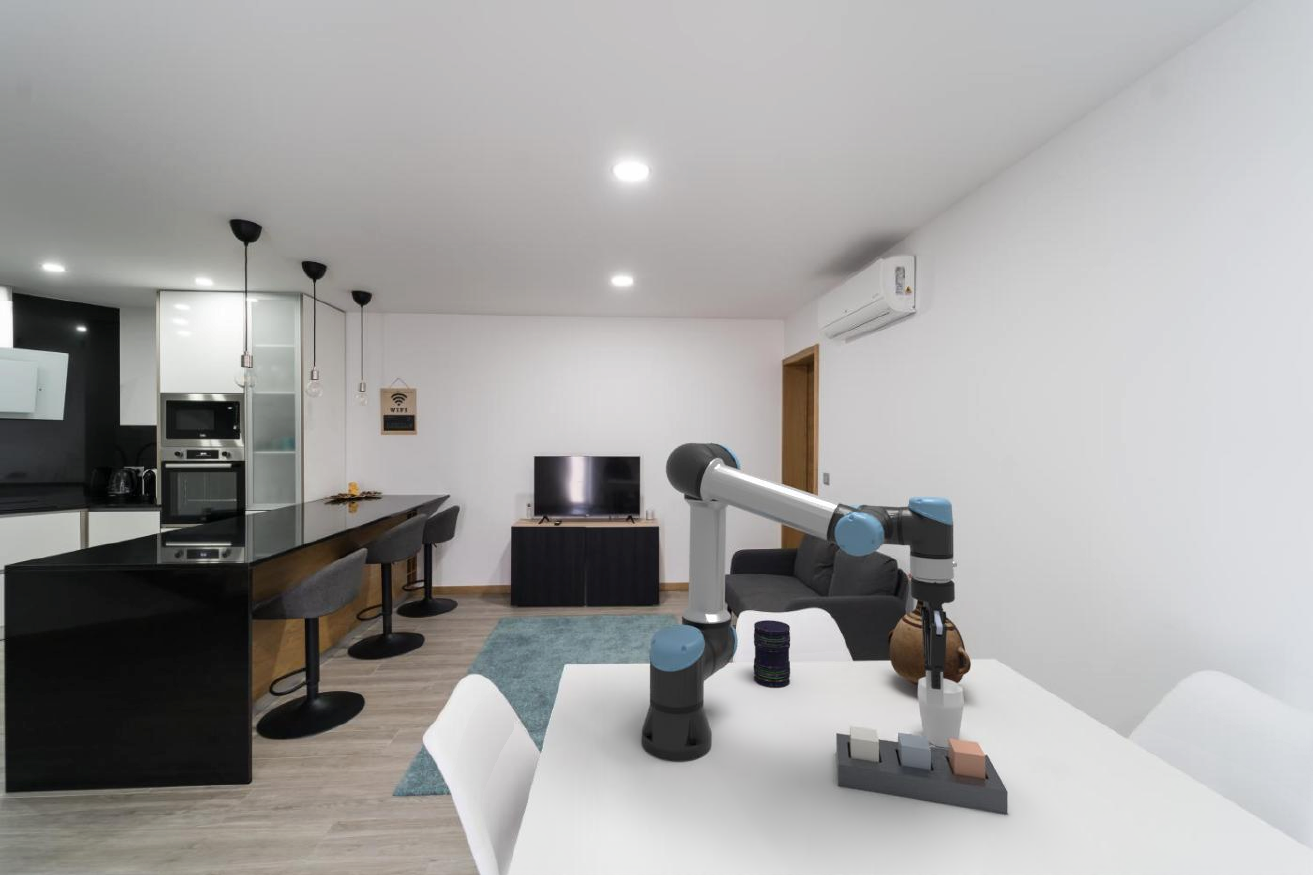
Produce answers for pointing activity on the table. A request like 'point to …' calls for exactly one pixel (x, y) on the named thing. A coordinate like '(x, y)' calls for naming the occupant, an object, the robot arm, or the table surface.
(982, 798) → the panel
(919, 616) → the vase
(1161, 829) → the table surface
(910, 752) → the slate key
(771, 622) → the storage jar
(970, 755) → the terracotta key
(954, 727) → the cup
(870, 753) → the ivory key
